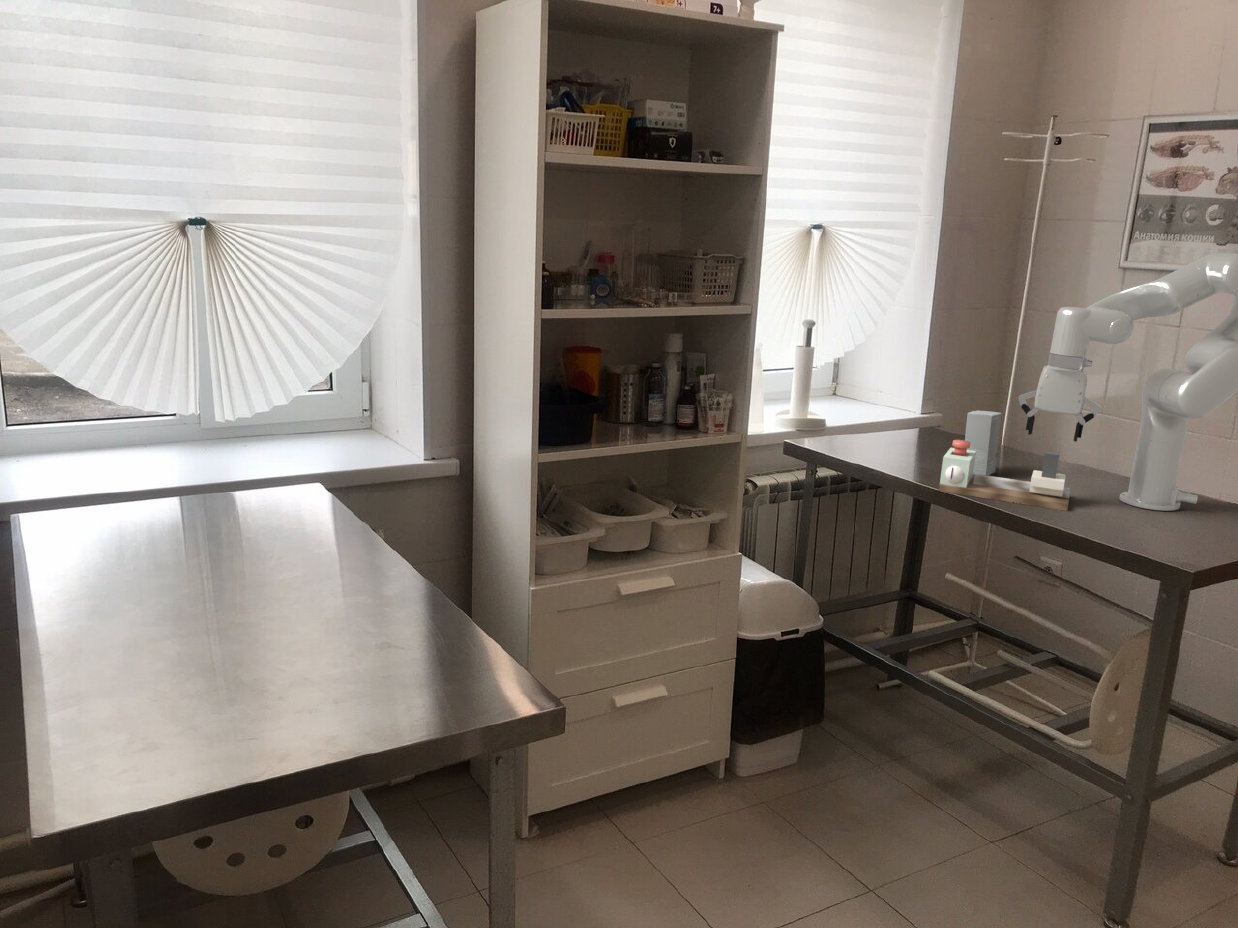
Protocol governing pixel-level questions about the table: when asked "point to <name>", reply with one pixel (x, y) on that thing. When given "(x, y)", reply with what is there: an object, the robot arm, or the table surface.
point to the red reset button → (960, 447)
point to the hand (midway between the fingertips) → (1052, 437)
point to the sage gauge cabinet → (957, 468)
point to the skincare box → (983, 439)
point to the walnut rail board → (1009, 492)
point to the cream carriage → (1048, 476)
